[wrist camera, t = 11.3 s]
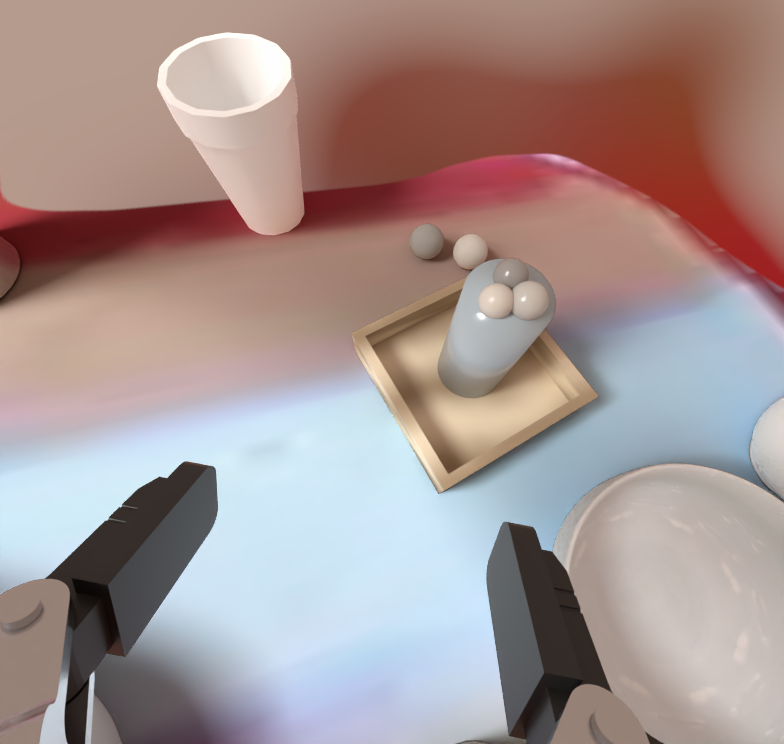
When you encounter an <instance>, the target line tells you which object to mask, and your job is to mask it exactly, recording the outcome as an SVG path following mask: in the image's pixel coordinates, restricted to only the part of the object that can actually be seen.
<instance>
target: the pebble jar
mask: <svg viewBox="0 0 784 744" xmlns="http://www.w3.org/2000/svg"><path fill="white" fill-rule="evenodd" d="M555 308H556V299H555V294H554V291H553V289H552V287H551V285H550V283H549V282H548V280H547V279H546V278H545V277H544V275H543V274H541V273H540V272H539V271H538V270H537V269H535V268H534V267H532V266H530V265H528V264H526V263H524V262H523V261H521V260H520V259H517V258H508V259H494V260H490V261H487V262H484V263H482V264H480V265H479V266H477V267H476V268H475V269H473V270H472V271H471V273H470V274H469V275H468V277H467V279H466V281H465V283H464V286H463V289H462V292H461V295H460V298H459V301H458V304H457V306H456V309H455V312H454V315H453V318H452V321H451V324H450V327H449V330H448V333H447V335H446V338H445V341H444V344H443V347H442V350H441V353H440V356H439V359H438V364H437V369H438V374H439V377H440V379H441V381H442V383H443V384H444V386H445V387H446V388H447V389H448V390H449V391H451V392H452V393H454V394H456V395H458V396H461V397H464V398H479V397H482V396H485V395H487V394H489V393H490V392H491V391H492V390H493V389H494V388H495V387H496V386H497V385H498V384H499V382H500V381H501V380H502V379H503V378H504V376H505V375H506V374H507V373H508V372H509V370H510V369H511V368H512V367H513V366H514V365H515V363H516V362H517V361H518V360H519V359H520V357H521V356H522V355H523V354H524V353H525V351H526V350H527V349H528V348H529V347H530V346H531V344H532V343H533V342H534V341H535V340H536V338H537V337H538V336H539V335H540V334H541V332H542V331H543V330H544V329H545V328H546V326H547V325H548V324H549V323H550V321H551V320H552V318H553V316H554V313H555Z"/></svg>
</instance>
